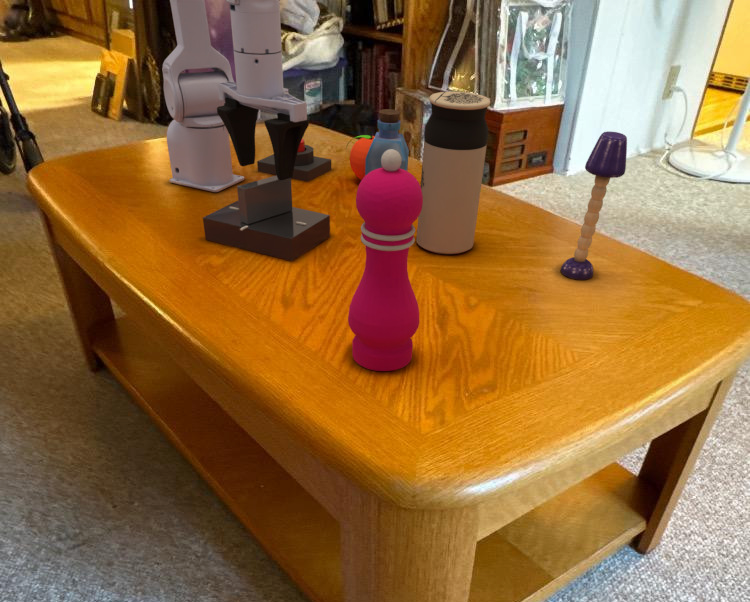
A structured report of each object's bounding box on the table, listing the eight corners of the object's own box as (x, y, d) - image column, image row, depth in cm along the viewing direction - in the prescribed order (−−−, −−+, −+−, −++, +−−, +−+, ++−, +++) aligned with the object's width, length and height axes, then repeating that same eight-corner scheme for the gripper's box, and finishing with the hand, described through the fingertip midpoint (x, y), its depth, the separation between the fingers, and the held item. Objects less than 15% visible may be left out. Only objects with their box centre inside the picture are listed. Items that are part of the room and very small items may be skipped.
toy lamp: (598, 270, 90) (635, 131, 79) (595, 284, 87) (633, 141, 75) (562, 264, 91) (593, 126, 80) (557, 277, 88) (589, 136, 76)
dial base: (200, 242, 92) (197, 218, 90) (251, 215, 100) (249, 193, 98) (287, 264, 88) (286, 240, 86) (333, 234, 96) (333, 211, 94)
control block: (257, 171, 116) (256, 149, 114) (283, 160, 121) (281, 138, 119) (307, 182, 113) (307, 159, 111) (331, 169, 118) (331, 148, 116)
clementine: (336, 182, 113) (336, 135, 108) (353, 171, 118) (354, 126, 113) (381, 190, 111) (382, 143, 106) (396, 178, 116) (398, 132, 111)
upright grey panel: (247, 224, 89) (244, 187, 86) (240, 221, 90) (236, 184, 87) (292, 210, 94) (291, 174, 91) (285, 207, 95) (283, 171, 92)
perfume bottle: (406, 190, 111) (411, 108, 103) (403, 203, 107) (408, 118, 99) (368, 188, 112) (371, 105, 104) (364, 200, 107) (366, 115, 99)
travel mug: (480, 240, 96) (500, 96, 84) (461, 260, 91) (480, 108, 79) (428, 229, 99) (441, 88, 87) (407, 248, 93) (417, 99, 81)
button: (279, 152, 114) (278, 140, 113) (290, 147, 117) (290, 136, 116) (297, 155, 113) (297, 144, 112) (308, 150, 116) (308, 139, 115)
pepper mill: (345, 339, 74) (347, 137, 60) (411, 339, 74) (427, 138, 61) (349, 375, 68) (352, 161, 55) (420, 374, 69) (440, 162, 55)
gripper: (324, 56, 80) (325, 178, 89) (244, 38, 87) (253, 153, 96) (279, 62, 76) (285, 189, 85) (199, 43, 83) (213, 163, 92)
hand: (265, 171), depth 90 cm, fingers open, 7 cm apart
